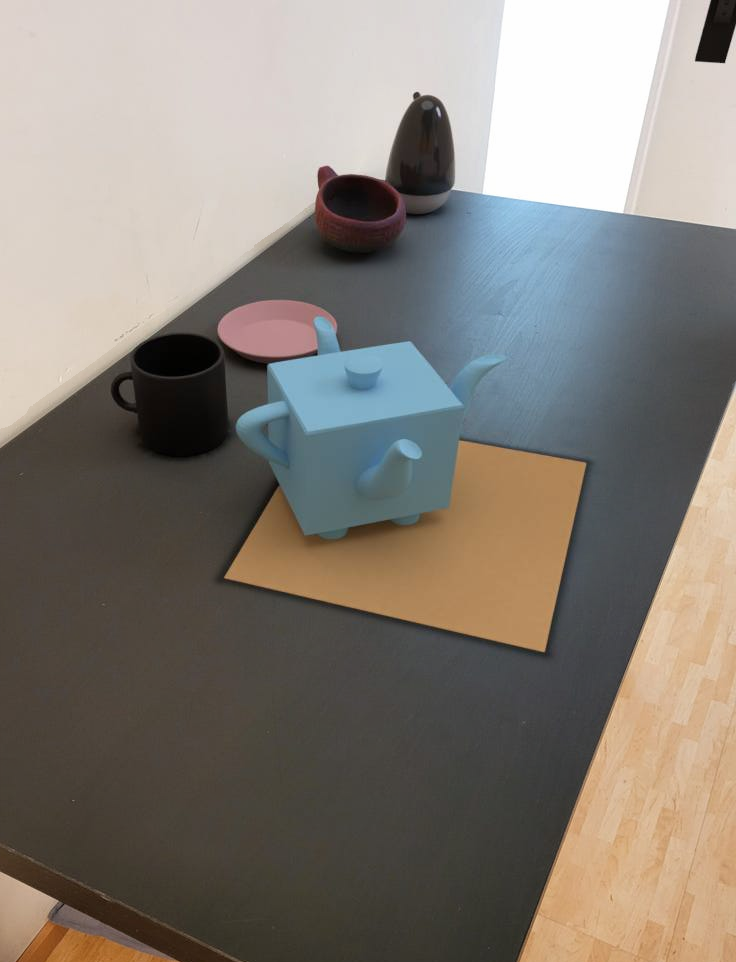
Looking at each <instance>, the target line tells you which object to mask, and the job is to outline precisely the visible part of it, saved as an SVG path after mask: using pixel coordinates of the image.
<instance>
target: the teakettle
mask: <svg viewBox="0 0 736 962" xmlns="http://www.w3.org/2000/svg"><path fill="white" fill-rule="evenodd" d="M314 327H315V331H316V335H317V343H318V352H317V355H312V356H310V357H306V358H300V359H294V360H288V361H282V362H276V363H271V364H266V365H267V366H266V372H267V379H266V380H267V404H264V405H260V406H257V407H255V408H253V409H250V410H248V411H246V412H245V413H243V414H242V415H241V416H239V418H238V419H237V421H236V423H235V431H236V435H237V436H238V438H239V439H240V441H241V442H242V443H243V444H244V445H245V446H246V447H247V448H248V449H249V450H251V451H252V452H254V453H255V454H257V455H258V456H260V457H262V458H263V459H265V460H268V464H269V466H270V469H271V470H272V472H273V475H274V476H275V479H276V480H277V482H278V484H279V485H280V486H281V488H282V490H283V492H284V494H285V496H286V498H287V500H288V502H289V504H290V506H291V508H292V510H293V512H294V514H295V516H296V518H297V521H298V523H299V525H300V527H301V529H302V531H303V533H304V535H305V536H306V535H311V534H316V533H317V534H318V535H319V536H321V537H323V538H326V539H338V538H341V537H343V536H344V535H345V534H346V533H347V530H348V527H353V526H358V525H363V524H368V523H373V522H379V521H384V520H389V519H390V520H391V521H392V522H394V523H396V524H399V525H410V524H413V523H415V522H417V521H418V519H419V514H420V513H425V512H430V511H435V510H440V509H445V508H449V504H450V497H451V491H452V484H453V478H454V471H455V464H456V458H457V451H458V444H459V440H460V436H461V431H462V426H463V423H464V421H465V419H466V416H467V413H468V410H469V407H470V404H471V402H472V399H473V396H474V393H475V392H476V389H477V387H478V385H479V384H480V383H481V381H482V380H483V378H484V377H485V376H486V375H487V374H488V373H489V372H490V371H492V370H493V369H494V368H496V367H497V366H499V365H500V364H502V363H503V362H504V361H506V359H507V357H506V355H503V354H488V355H483V356H480V357H478V358H475V359H473V360H471V361H470V362H468V364H467V365H465V366H464V367H463V369H462V370H461V371H460V372H459V374H458V375H457V376H456V378H455V379H454V381H453V383H452V384H451V386H450V387H449V386H448V385H447V384H446V382H445V381H444V380H443V379H442V377H441V376H440V375H439V374H438V372H437V371H436V370H435V369H434V368H433V366H432V365H431V364H430V363H429V361H428V360H427V359H426V358H425V357H424V355H422V353H421V352H420V351H419V350H418V349H417V347H416V346H415V345H414V344H413V342H412V341H410V340H409V341H402V342H394V343H389V344H388V343H387V344H383V345H382V344H381V345H376V346H369V347H363V348H356V349H349V350H343V351H341V348H340V345H339V341H338V338H337V333H336V334H335V331H334V328H333V326H332V324H331V323H330V322H329V321H328V320H327V319H326V318H324V317H316V318H315V319H314ZM266 425H268V427H267V428H268V429H267V431H268V432H267V433H268V437H267V435H266V434H265V433H264V432H263V427H264V426H266Z"/></svg>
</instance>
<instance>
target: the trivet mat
mask: <svg viewBox="0 0 736 962" xmlns="http://www.w3.org/2000/svg"><path fill="white" fill-rule="evenodd" d="M586 467H587V462H585V461H578V460H573V459H568V458H561V457H556V456H550V455H545V454H539V453H533V452H528V451H522V450H516V449H510V448H506V447H500V446H493V445H488V444H483V443H477V442H471V441H466V440H460V439H459V444H458V451H457V458H456V464H455V471H454V478H453V484H452V491H451V497H450V504H449V508H445V509H440V510H435V511H430V512H425V513H420V514H419V519H418V521H417V522H415V523H413V524H410V525H399V524H396V523H394V522H392V521H391V520H390V519H389V520H384V521H379V522H373V523H368V524H363V525H358V526H353V527H348V530H347V533H346V534H345V535H344V536H343V537H341V538H338V539H326V538H323V537H321V536H319V535H318V534H317V533H316V534H311V535H306V536H305V535H304V533H303V531H302V529H301V527H300V525H299V523H298V521H297V518H296V516H295V514H294V512H293V510H292V508H291V506H290V504H289V502H288V500H287V498H286V496H285V494H284V492H283V490H282V488H281V486H280V484H279V485H278V486H277V488H276V489H275V491H274V493H273V495H272V496H271V498H270V500H269V502H268V503H267V505H266V506H265V508H264V510H263V512H262V513H261V515H260V517H259V518H258V520H257V521H256V523H255V525H254V527H253V528H252V529H251V531H250V534H249V535H248V537H247V539H246V540H245V541H244V543H243V545H242V546H241V548H240V550H239V552H238V553H237V555H236V557H235V559H234V560H233V562H232V564H231V565H230V566H229V568H228V570H227V571H226V574H225V575H224V577H223V579H225V580H229V581H233V582H238V583H242V584H247V585H251V586H256V587H260V588H264V589H269V590H273V591H276V592H282V593H285V594H290V595H293V596H294V595H295V596H298V597H303V598H307V599H312V600H315V601H320V602H324V603H329V604H333V605H338V606H340V607H341V606H342V607H346V608H350V609H355V610H358V611H363V612H368V613H372V614H375V615H380V616H385V617H390V618H394V619H398V620H402V621H407V622H410V623H414V624H415V623H416V624H419V625H423V626H427V627H433V628H435V629H441V630H445V631H449V632H454V633H458V634H462V635H467V636H470V637H471V636H472V637H476V638H478V639H479V638H480V639H484V640H488V641H492V642H496V643H501V644H506V645H510V646H514V647H518V648H522V649H527V650H532V651H535V652H541V653H544V654H545V652H546V648H547V644H548V640H549V636H550V631H551V625H552V620H553V616H554V612H555V607H556V603H557V600H558V599H557V598H558V594H559V590H560V585H561V581H562V576H563V572H564V567H565V562H566V558H567V553H568V548H569V545H570V539H571V535H572V532H573V527H574V521H575V517H576V513H577V508H578V504H579V499H580V495H581V490H582V485H583V481H584V476H585V472H586Z"/></svg>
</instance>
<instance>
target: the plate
mask: <svg viewBox="0 0 736 962" xmlns="http://www.w3.org/2000/svg"><path fill="white" fill-rule="evenodd" d="M316 317H324V318H326V319H327V320H328V321H329V322H330V323H331V324H332V326H333V328H334V331H335V334H336V335H337V333H338V324H337V322H336V319H335V318H334V317H333V316H332V315H331V314H330V313H329V312H328V311H327V310H325V309H323V308H321V307H318V306H317V305H314V304H311V303H307V302H305V301H304V302H303V301H298V300H291V299H289V300H288V299H270V300H259V301H254V302H252V303H248V304H244V305H241V306H238V307H237V308H234V309H232V310H230V311H229V312H228V313H226V314H225V315H223V317H222V318H221V320H220V321H219V322H218V325H217V336H218V337H219V340H221V342H222V343H223V344H224V345H226V346H227V347H228V348H230V349H231V350H232V351H234V352H235V353H236V354H238V355H239V356H241V357H243V358H244V359H247V360H249V361H252V362H255V363H259V364H261V363H262V364H266V365H268V364H271V363H276V362H282V361H288V360H294V359H300V358H306V357H312V356H315V354H317V353H318V343H317V335H316V331H315V327H314V319H315V318H316Z"/></svg>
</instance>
